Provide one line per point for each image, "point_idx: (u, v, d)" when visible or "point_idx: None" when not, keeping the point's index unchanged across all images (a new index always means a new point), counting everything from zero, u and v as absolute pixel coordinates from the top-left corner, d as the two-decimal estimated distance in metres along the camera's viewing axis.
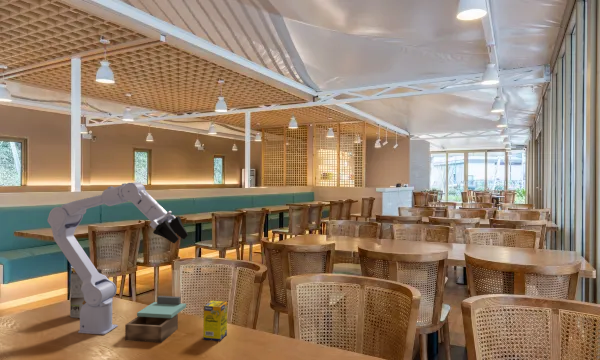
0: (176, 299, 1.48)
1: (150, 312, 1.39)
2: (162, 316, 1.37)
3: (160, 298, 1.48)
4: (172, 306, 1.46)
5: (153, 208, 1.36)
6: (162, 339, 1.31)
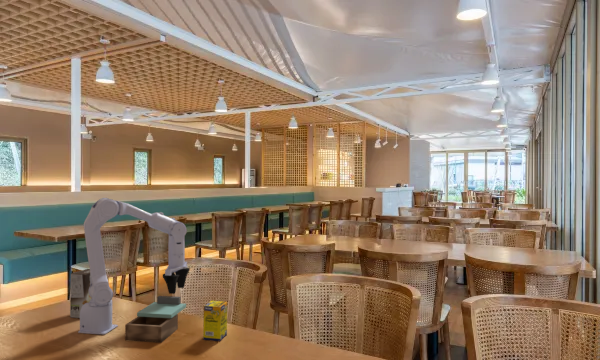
0: (176, 299, 1.48)
1: (150, 312, 1.39)
2: (162, 316, 1.37)
3: (160, 298, 1.48)
4: (172, 306, 1.46)
5: (178, 256, 1.52)
6: (162, 339, 1.31)
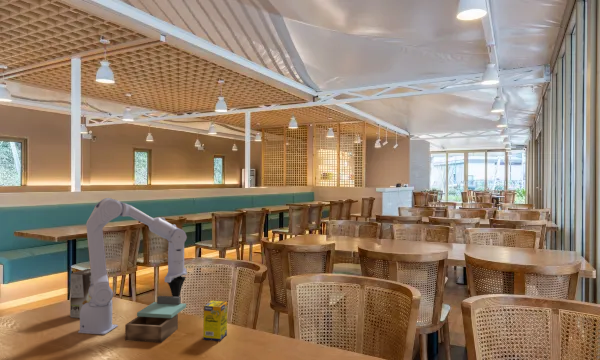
0: (176, 299, 1.48)
1: (150, 312, 1.39)
2: (162, 316, 1.37)
3: (160, 298, 1.48)
4: (172, 306, 1.46)
5: (177, 263, 1.52)
6: (162, 339, 1.31)
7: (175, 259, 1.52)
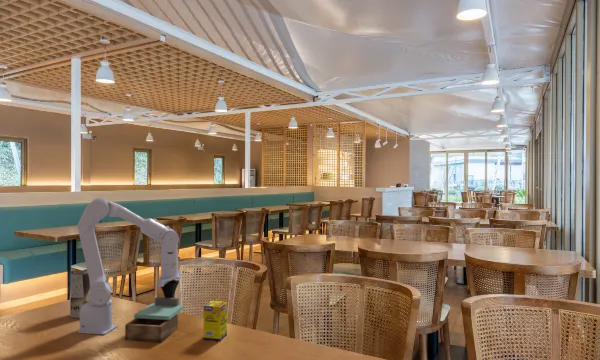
0: (174, 300, 1.46)
1: (148, 314, 1.37)
2: (160, 318, 1.36)
3: (158, 299, 1.47)
4: (170, 307, 1.44)
5: (171, 266, 1.46)
6: (162, 339, 1.31)
7: (167, 262, 1.46)
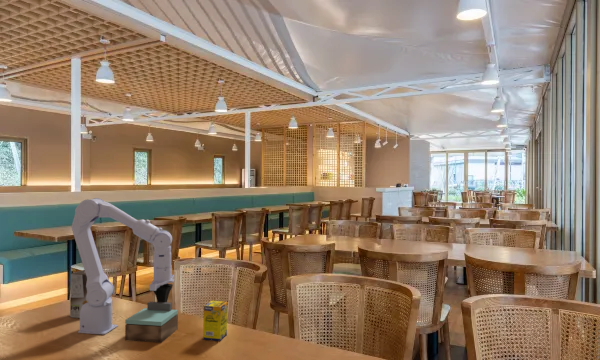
0: (167, 305, 1.41)
1: (139, 320, 1.32)
2: (152, 323, 1.31)
3: (150, 304, 1.41)
4: (163, 312, 1.39)
5: (164, 269, 1.41)
6: (162, 339, 1.31)
7: (158, 265, 1.41)
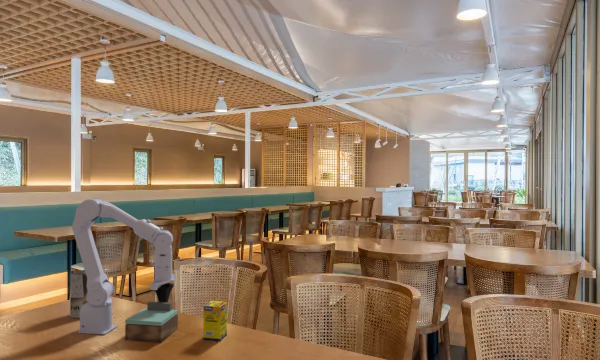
0: (167, 305, 1.41)
1: (139, 320, 1.32)
2: (152, 323, 1.30)
3: (150, 304, 1.41)
4: (163, 312, 1.39)
5: (165, 269, 1.42)
6: (162, 339, 1.31)
7: (159, 265, 1.42)
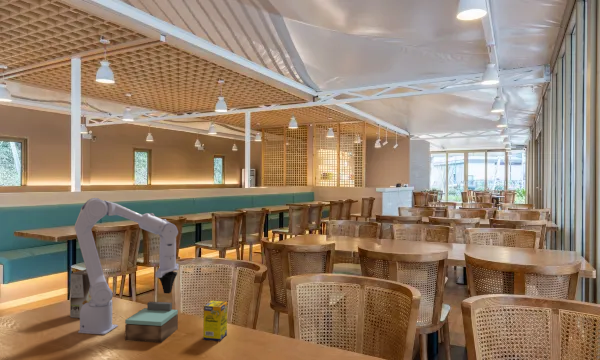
0: (167, 305, 1.41)
1: (139, 320, 1.32)
2: (152, 323, 1.30)
3: (150, 304, 1.41)
4: (163, 312, 1.39)
5: (169, 258, 1.49)
6: (162, 339, 1.31)
7: (166, 254, 1.49)
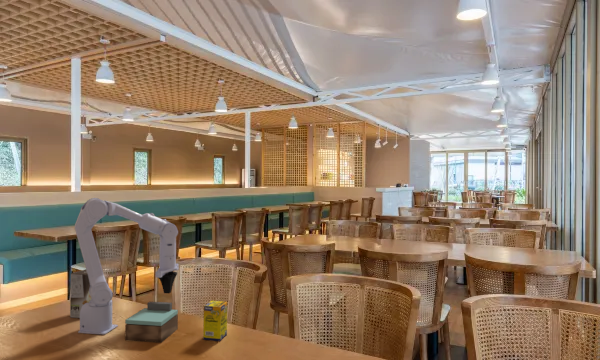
0: (167, 305, 1.41)
1: (139, 320, 1.32)
2: (152, 323, 1.30)
3: (150, 304, 1.41)
4: (163, 312, 1.39)
5: (169, 258, 1.49)
6: (162, 339, 1.31)
7: (166, 254, 1.49)
